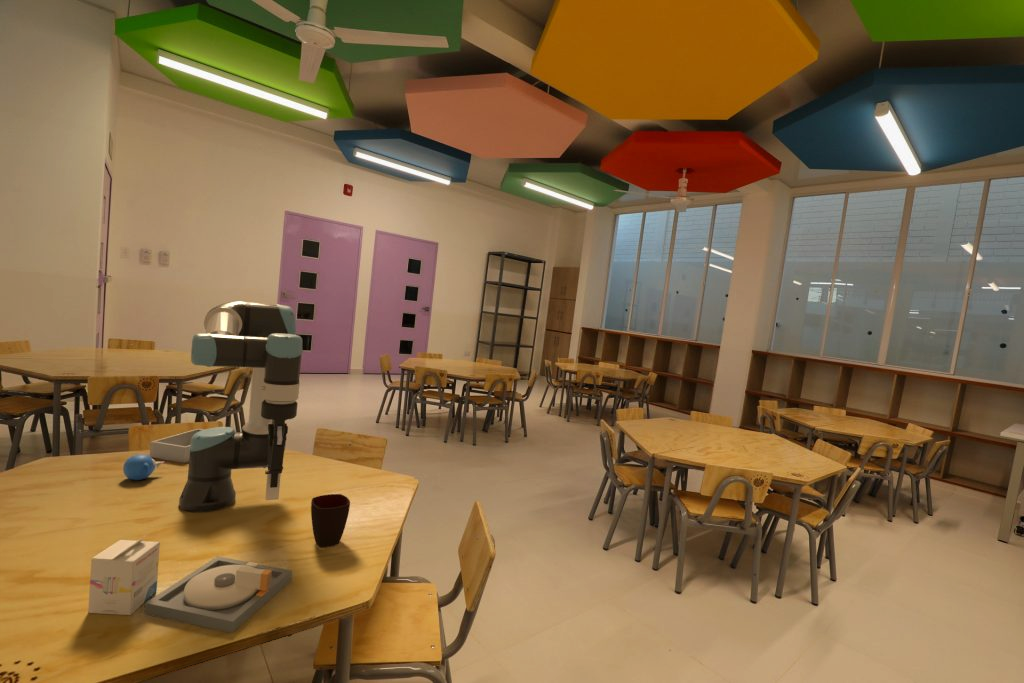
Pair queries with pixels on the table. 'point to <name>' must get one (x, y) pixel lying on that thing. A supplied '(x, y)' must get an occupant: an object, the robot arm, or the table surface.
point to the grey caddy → (173, 447)
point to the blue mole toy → (140, 466)
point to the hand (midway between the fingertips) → (271, 498)
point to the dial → (225, 586)
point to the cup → (329, 518)
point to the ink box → (123, 577)
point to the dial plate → (226, 619)
